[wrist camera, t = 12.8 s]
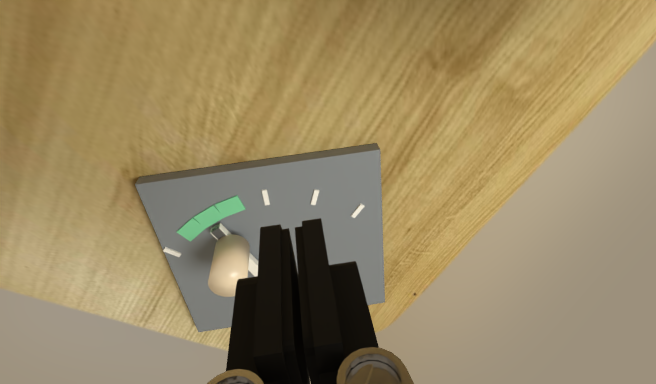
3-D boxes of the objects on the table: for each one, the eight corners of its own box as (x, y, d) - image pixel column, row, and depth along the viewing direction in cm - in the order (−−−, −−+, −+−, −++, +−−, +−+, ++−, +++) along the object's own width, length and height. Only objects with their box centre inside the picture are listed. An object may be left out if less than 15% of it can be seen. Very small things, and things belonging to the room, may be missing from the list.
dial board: (376, 143, 39) (380, 150, 38) (382, 293, 51) (385, 303, 50) (139, 177, 38) (134, 185, 37) (200, 322, 50) (198, 333, 49)
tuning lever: (307, 298, 48) (311, 340, 42) (283, 310, 48) (283, 353, 43) (229, 216, 40) (223, 255, 35) (202, 232, 41) (191, 273, 35)
